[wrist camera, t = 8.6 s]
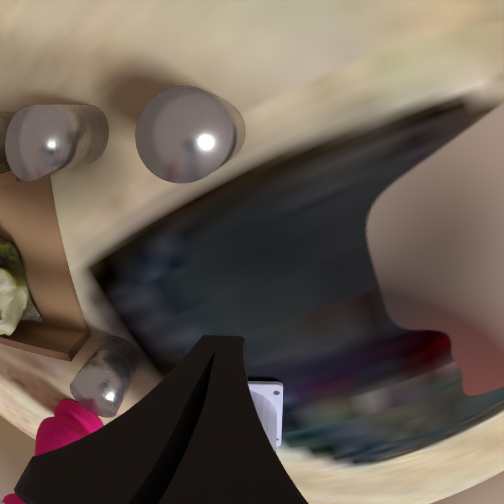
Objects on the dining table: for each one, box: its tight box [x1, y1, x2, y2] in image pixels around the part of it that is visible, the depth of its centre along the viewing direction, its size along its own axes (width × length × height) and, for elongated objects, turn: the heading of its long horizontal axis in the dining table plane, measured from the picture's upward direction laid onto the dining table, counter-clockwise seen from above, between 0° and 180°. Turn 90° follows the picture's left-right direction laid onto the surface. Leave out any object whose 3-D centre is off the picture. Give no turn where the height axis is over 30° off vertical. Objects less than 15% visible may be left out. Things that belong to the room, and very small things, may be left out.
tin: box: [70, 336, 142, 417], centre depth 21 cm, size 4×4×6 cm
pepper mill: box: [2, 399, 104, 504], centre depth 20 cm, size 7×7×20 cm
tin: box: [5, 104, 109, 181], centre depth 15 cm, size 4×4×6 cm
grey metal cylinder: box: [135, 86, 245, 183], centre depth 14 cm, size 4×4×6 cm
